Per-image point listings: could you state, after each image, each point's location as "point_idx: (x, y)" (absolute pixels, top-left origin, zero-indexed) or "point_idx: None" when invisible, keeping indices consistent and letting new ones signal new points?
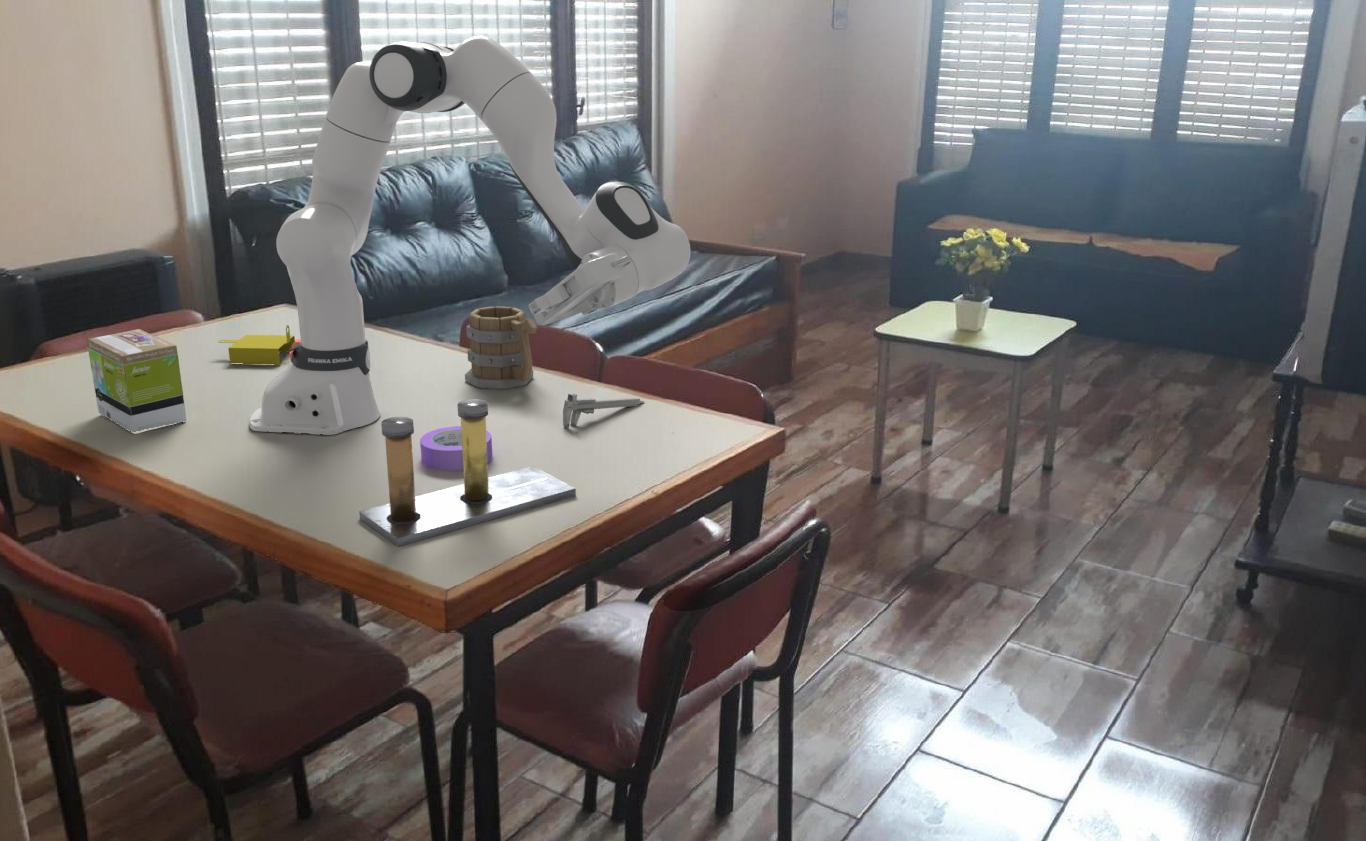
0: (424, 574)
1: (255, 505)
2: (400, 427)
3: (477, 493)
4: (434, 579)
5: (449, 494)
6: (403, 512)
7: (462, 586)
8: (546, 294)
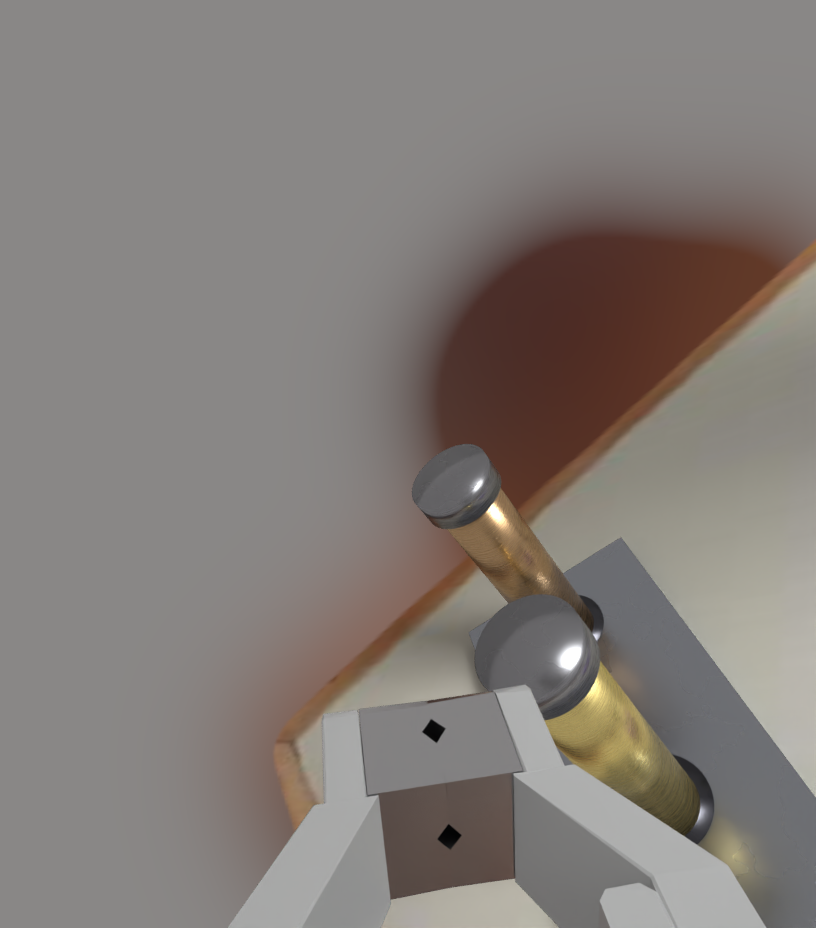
0: (357, 700)
1: (729, 365)
2: (412, 493)
3: None
4: None
5: (700, 723)
6: None
7: (291, 768)
8: (306, 820)
